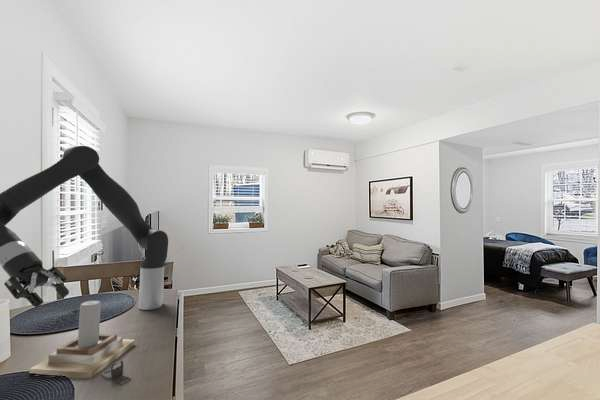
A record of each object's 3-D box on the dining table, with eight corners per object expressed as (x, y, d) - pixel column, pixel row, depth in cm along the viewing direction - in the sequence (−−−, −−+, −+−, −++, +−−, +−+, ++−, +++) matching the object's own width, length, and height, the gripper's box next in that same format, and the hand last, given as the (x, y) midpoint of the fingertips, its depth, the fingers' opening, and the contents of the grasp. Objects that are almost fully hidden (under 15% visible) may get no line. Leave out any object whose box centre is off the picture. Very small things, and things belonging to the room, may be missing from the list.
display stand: (85, 341, 90) (86, 326, 90) (134, 344, 89) (135, 329, 89) (29, 374, 72) (30, 356, 72) (90, 378, 71) (91, 359, 71)
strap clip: (100, 377, 72) (101, 360, 73) (112, 371, 75) (113, 355, 75) (119, 387, 69) (120, 370, 69) (132, 381, 71) (133, 364, 71)
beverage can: (86, 350, 78) (89, 306, 78) (72, 347, 79) (75, 304, 79) (102, 342, 83) (105, 301, 83) (89, 340, 84) (91, 299, 84)
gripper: (1, 255, 77) (40, 299, 76) (49, 247, 91) (82, 284, 91) (-19, 274, 77) (20, 318, 76) (32, 263, 91) (65, 300, 91)
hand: (54, 299), depth 83 cm, fingers open, 8 cm apart
